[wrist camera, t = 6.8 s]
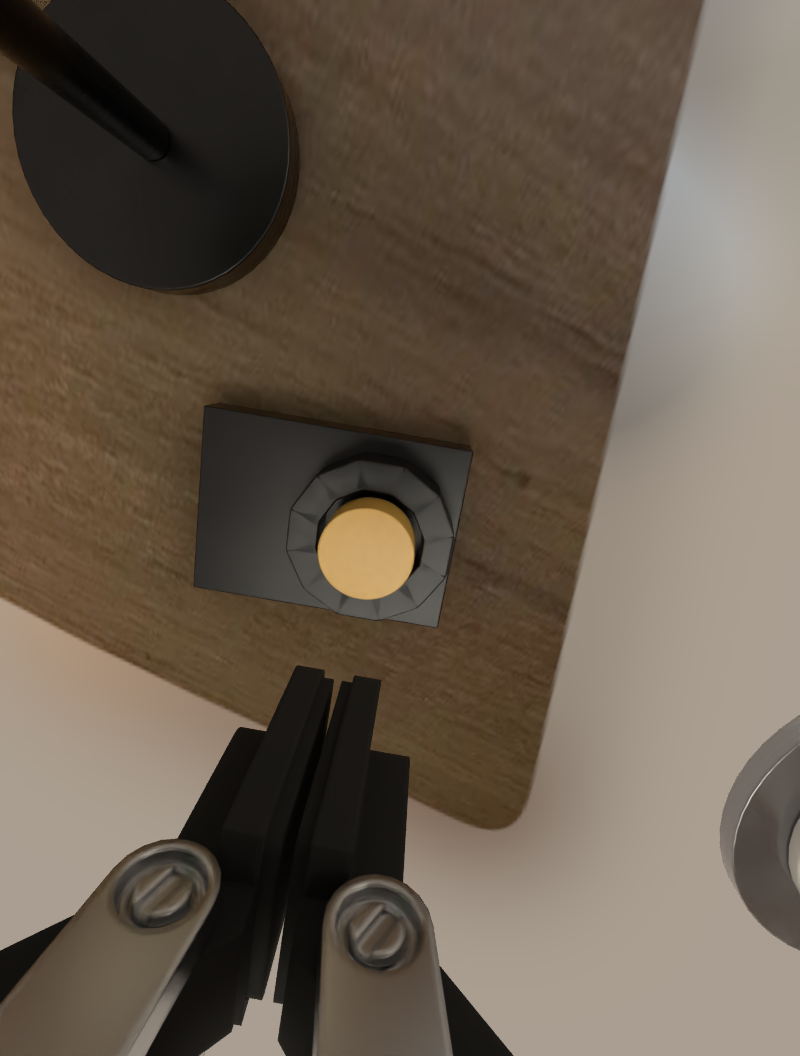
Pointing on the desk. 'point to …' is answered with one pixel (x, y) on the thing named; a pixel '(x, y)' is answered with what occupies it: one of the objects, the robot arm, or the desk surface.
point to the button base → (320, 507)
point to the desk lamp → (153, 136)
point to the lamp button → (367, 548)
